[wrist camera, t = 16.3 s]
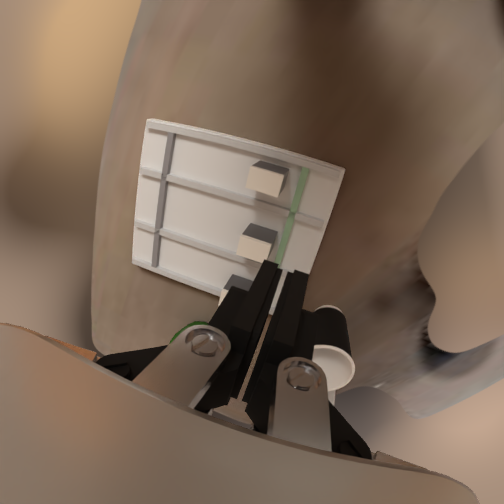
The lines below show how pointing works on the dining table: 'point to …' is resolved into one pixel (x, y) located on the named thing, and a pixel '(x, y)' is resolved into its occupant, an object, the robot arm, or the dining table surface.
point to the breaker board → (224, 206)
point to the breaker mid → (256, 243)
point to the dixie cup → (333, 347)
